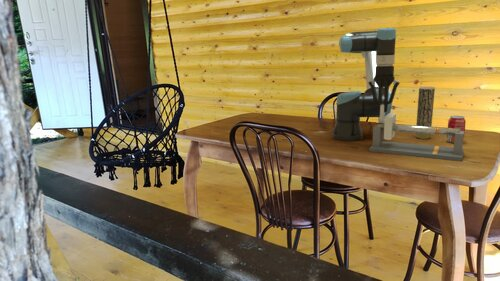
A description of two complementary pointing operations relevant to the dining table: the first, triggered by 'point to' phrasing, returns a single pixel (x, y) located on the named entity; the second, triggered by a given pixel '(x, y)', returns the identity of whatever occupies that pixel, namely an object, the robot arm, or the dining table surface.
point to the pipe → (422, 129)
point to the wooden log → (425, 109)
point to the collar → (389, 126)
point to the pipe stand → (418, 147)
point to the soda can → (456, 126)
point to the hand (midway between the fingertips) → (382, 119)
